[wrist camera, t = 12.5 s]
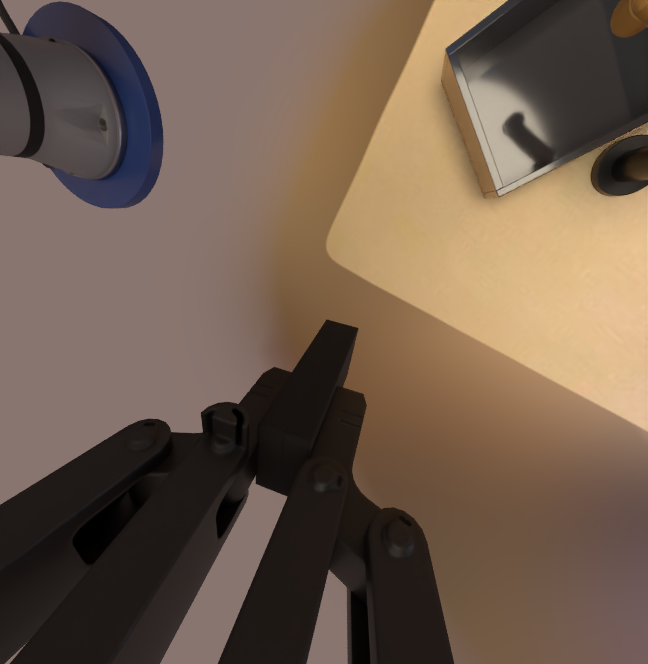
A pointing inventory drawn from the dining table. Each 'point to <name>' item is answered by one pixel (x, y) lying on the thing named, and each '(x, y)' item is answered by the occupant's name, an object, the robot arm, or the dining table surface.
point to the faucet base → (622, 167)
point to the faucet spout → (629, 17)
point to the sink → (543, 87)
